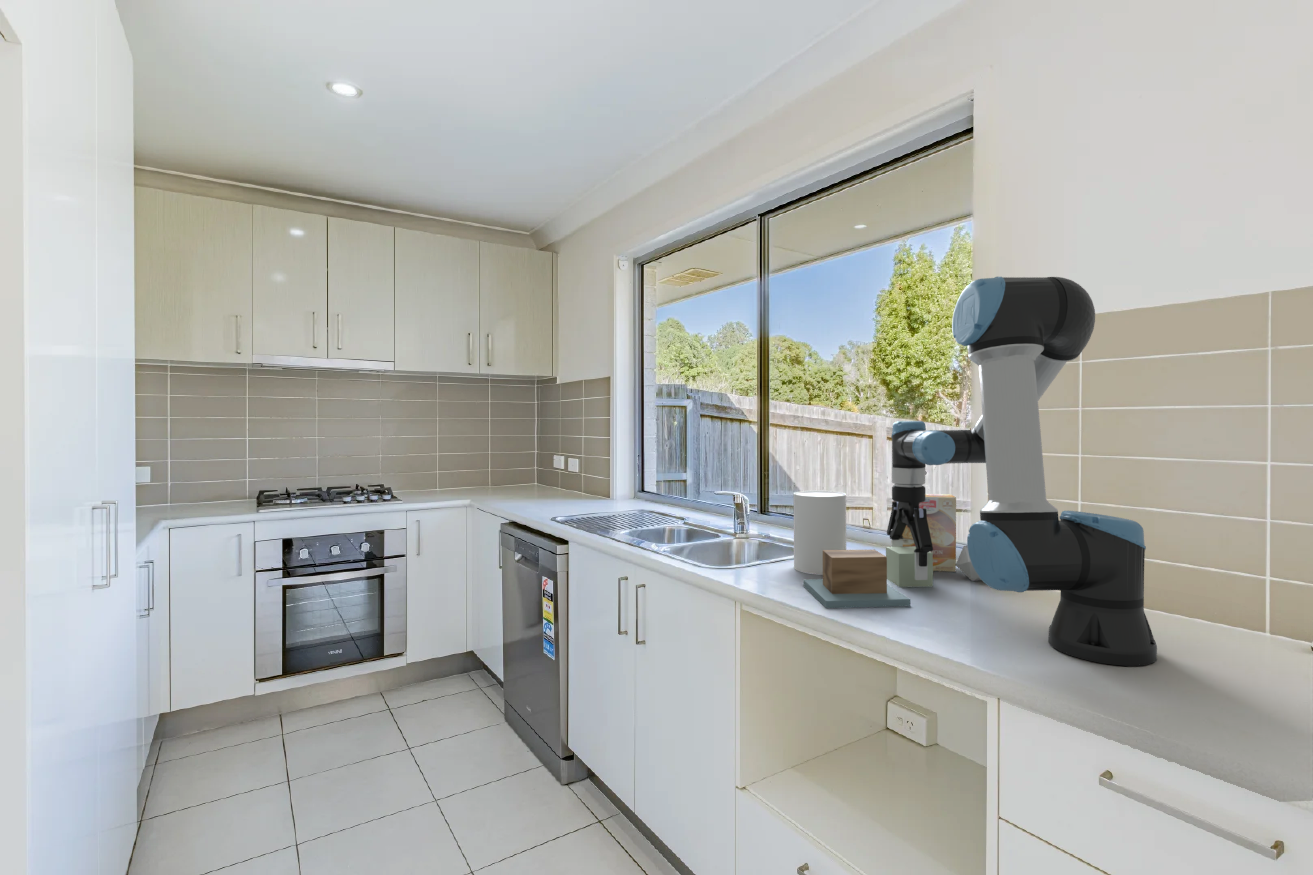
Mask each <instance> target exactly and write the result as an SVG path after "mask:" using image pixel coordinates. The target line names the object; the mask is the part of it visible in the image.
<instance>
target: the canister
mask: <svg viewBox="0 0 1313 875" xmlns="http://www.w3.org/2000/svg"><path fill="white" fill-rule="evenodd" d="M823 550H847V494H846V493H845V492H842V491H834V490H802V491H794V492H793V569H794V570H796V571H797V572H800V573H803V574H804V573H805V574H810V575H822V576H823Z"/></svg>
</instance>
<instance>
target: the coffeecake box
mask: <svg viewBox="0 0 1313 875" xmlns="http://www.w3.org/2000/svg"><path fill="white" fill-rule="evenodd" d="M892 502H893V500H892V499H891V503H892ZM919 508H920V509H926V511H927V522H928V526H929V531H930V536H931V541H932V546H933V551H929V552H931V553H933V572H946V573H947V572H948V573H949V572H951V573H956V572H957V571H956V569H957V566H956V563H957V496H955V495H953V494H951V493H949V494H948V493H925V501H924V502H920V503H919ZM902 536H903V539H899V540H903V547H909V546H915V543H914V540H913V537H912V534H911V531H910V528H909V527H907V525H906V527H905V530H904V532H903V534H902Z"/></svg>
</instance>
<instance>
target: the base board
mask: <svg viewBox="0 0 1313 875" xmlns="http://www.w3.org/2000/svg"><path fill="white" fill-rule="evenodd" d="M802 585H803V587H804V588H805V589H806V590H807V591H808V592H809V593H810V594H811V595H812V596H813V597H814V598H815V599H816V600H817V601H819V603H820V604H821V605H823V607H824V608H825V609H835V608H836V609H845V608H847V609H848V608H884V607H886V608H887V607H894V608H895V607H910V606H911V598H910V597H908V596H907V595H905V594H904V593H901V592H900V591H899V590H897V589H896V588H894V587H893V586H891V585H889V584H888V583H887V593H868V594H832V593H831V592H830V591H829V590H828V589H827V588H826V587H825V586H824V585H823V578H816V579H814V578H812V579H811V578H810V579H808V578H807V579H803V584H802Z"/></svg>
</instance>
